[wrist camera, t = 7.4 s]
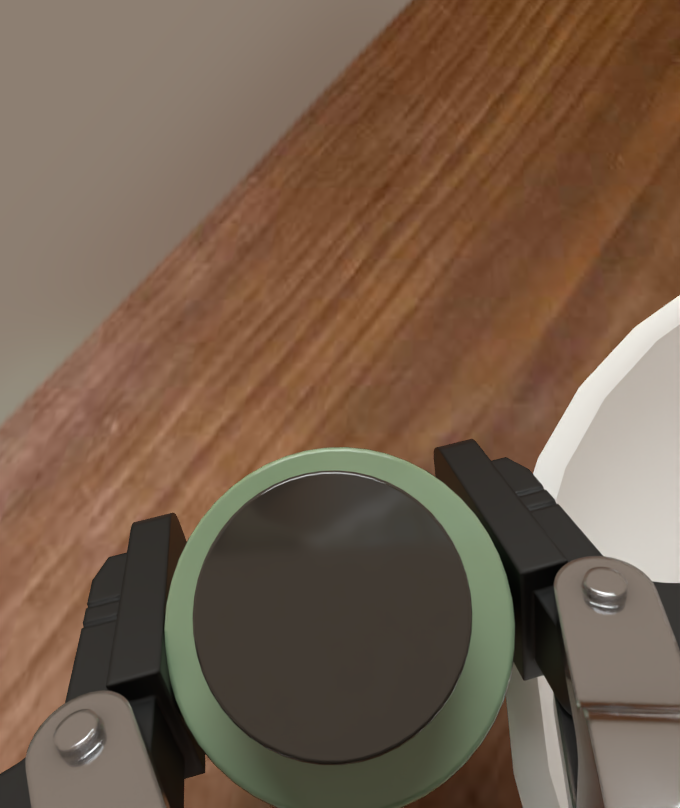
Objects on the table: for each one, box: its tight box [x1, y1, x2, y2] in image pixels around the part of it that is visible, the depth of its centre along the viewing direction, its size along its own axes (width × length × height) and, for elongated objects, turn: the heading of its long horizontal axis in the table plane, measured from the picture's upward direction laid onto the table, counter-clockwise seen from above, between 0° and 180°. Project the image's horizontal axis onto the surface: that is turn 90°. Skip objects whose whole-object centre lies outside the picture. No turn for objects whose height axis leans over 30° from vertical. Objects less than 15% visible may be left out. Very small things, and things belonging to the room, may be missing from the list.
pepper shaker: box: [164, 447, 515, 808], centre depth 11 cm, size 5×5×10 cm
